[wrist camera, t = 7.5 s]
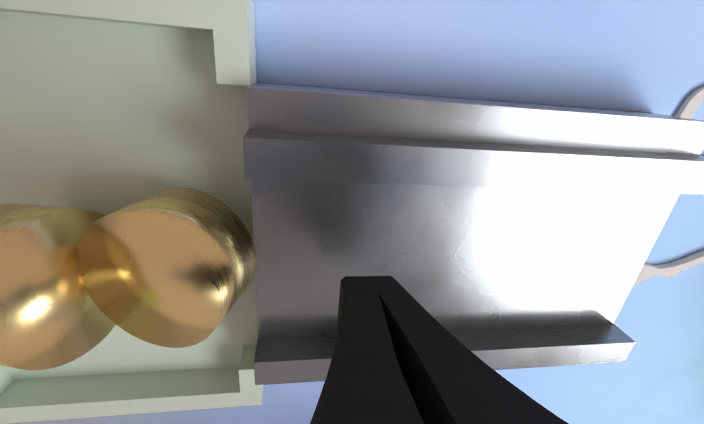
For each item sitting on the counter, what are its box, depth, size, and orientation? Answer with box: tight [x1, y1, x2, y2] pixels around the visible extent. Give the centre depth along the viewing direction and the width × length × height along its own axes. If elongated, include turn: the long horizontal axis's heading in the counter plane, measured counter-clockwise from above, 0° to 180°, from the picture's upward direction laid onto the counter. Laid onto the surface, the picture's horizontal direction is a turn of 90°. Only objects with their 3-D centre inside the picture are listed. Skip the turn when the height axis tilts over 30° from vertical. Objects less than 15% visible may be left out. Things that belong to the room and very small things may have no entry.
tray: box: [0, 0, 264, 424], centre depth 10 cm, size 14×10×2 cm
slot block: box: [243, 82, 704, 385], centre depth 12 cm, size 10×14×3 cm
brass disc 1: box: [0, 203, 116, 371], centre depth 9 cm, size 4×4×2 cm
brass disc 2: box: [77, 187, 257, 348], centre depth 9 cm, size 4×4×2 cm
